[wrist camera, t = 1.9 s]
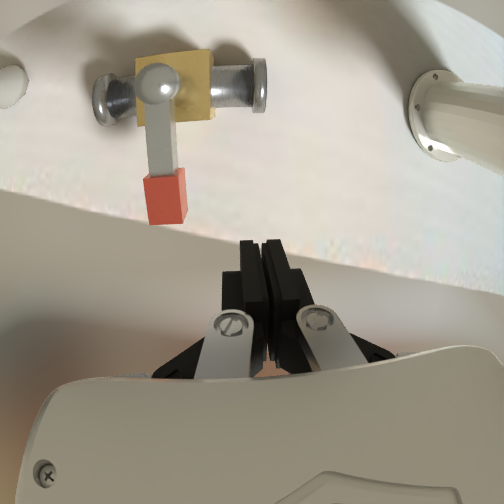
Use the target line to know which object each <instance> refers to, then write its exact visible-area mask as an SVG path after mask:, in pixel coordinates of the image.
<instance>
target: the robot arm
mask: <svg viewBox="0 0 504 504" xmlns="http://www.w3.org/2000/svg"><path fill="white" fill-rule="evenodd" d="M408 110H409V121H410V126H411V129H412V132H413V135H414V137H415V139H416V141H417V143H418V144H419V146H420V147H421V148H422V150H423V151H424V152H425V153H427V154H428V155H429V156H431V157H432V158H434V159H437V160H439V161H442V162H453V161H456V160H459V159H460V158H464V159H467V160H469V161H471V162H473V163H476V164H478V165H480V166H482V167H485V168H487V169H489V170H491V171H493V172H495V173H497V174H499V175H501V176H503V177H504V88H503V87H496V86H490V85H482V84H473V83H464V82H463V81H462V80H461V79H460V78H459V77H458V76H457V75H455V74H453V73H451V72H449V71H445V70H431V71H428V72H426V73H424V74H423V75H422V76H420V77H419V78H418V80H417V81H416V82H415V84H414V86H413V88H412V90H411V94H410V98H409V107H408ZM261 256H262V257H261ZM267 344H268V351H269V357H270V361H275V363H276V368H282V369H284V370H286V371H287V372H288V375H280V376H268V377H254V376H255V375H256V374H257V373H258V372H259V371H261V370H262V369H263V361H266V354H267ZM15 504H504V365H503V364H502V363H501V362H500V360H499V359H498V358H497V357H496V356H495V355H494V354H493V353H492V352H491V351H489V350H487V349H485V348H482V347H477V346H470V345H469V346H468V345H459V346H458V345H457V346H449V347H443V348H438V349H434V350H429V351H424V352H419V353H397V355H396V356H394V355H393V354H392V353H390V352H389V351H387V350H385V349H383V348H381V347H379V346H377V345H375V344H372V343H370V342H368V341H366V340H364V339H362V338H360V337H357V336H355V335H353V334H351V333H349V332H348V331H347V329H346V327H345V326H344V325H343V323H342V321H341V320H340V319H339V317H338V315H337V314H336V313H335V312H334V311H333V310H332V309H330V308H328V307H325V306H323V305H315V304H314V301H313V299H312V296H311V293H310V290H309V288H308V285H307V283H306V280H305V278H304V275H303V273H302V271H301V269H290V267H289V264H288V261H287V258H286V255H285V252H284V249H283V246H282V243H281V240H280V239H274V240H267V242H266V243H262V255H260V250H259V245H258V243H254V244H253V240H243V241H240V271H226V272H223V273H222V311H221V312H219V313H217V314H215V315H214V316H213V317H212V318H211V320H210V322H209V324H208V328H207V332H206V336H205V337H204V338H202V339H201V340H199V341H198V342H196V343H195V344H193V345H192V346H191V347H189V348H188V349H186V350H185V351H184V352H182V353H180V354H179V355H178V356H176V357H175V358H173V359H172V360H170V361H169V362H167V363H166V364H164V365H163V366H161V367H160V368H158V369H157V370H156V371H155V372H154V373H153V375H146V374H145V373H138V374H129V375H121V376H112V377H99V378H90V379H83V380H79V381H75V382H71V383H68V384H65V385H63V386H60V387H58V388H57V389H55V390H54V391H53V392H52V393H51V394H50V395H49V396H48V397H47V399H46V400H45V402H44V403H43V405H42V407H41V409H40V411H39V413H38V415H37V417H36V420H35V422H34V425H33V427H32V430H31V433H30V436H29V439H28V442H27V445H26V449H25V452H24V456H23V461H22V465H21V470H20V475H19V480H18V486H17V492H16V498H15Z"/></svg>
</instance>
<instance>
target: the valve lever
mask: <svg viewBox="0 0 504 504" xmlns="http://www.w3.org/2000/svg"><path fill="white" fill-rule="evenodd" d="M182 88H183V79H182V76H181V74H180V73H179V72H178V71H177V70H176V69H174V68H172V67H170V66H168V65H166V64H164V63H152V64H149V65H147V66H145V67H144V68H142V69H141V70H140V71H139V73H138V74H137V76H136V78H135V81H134V91H135V94H136V96H137V97H138V99H139V100H141V101H142V102H144V114H145V130H146V143H147V155H148V165H149V174H148V175H147V176H146V177H145V178H144V179H143V183H144V191H145V198H146V205H147V212H148V218H149V225H163V224H183V222H184V219H185V217H186V214H187V212H188V206H187V195H186V183H185V169H184V168H178V156H177V141H176V122H175V99H176V98H177V97H178V96H179V94H180V93H181V91H182Z"/></svg>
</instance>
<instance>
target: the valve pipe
mask: <svg viewBox="0 0 504 504" xmlns="http://www.w3.org/2000/svg"><path fill="white" fill-rule="evenodd" d="M152 63H164V64H166V65H168V66H170V67H172V68H174V69H176V70H177V71H178V72H179V73H180V74H181V76H182V79H183V88H182V91H181V93H180V94H179V96H178V97H177V98H176V99H175V122H186V121H199V120H211V119H212V118H214V117H215V108H221V107H252V111H253V113H264V112H265V107H266V97H267V68H266V61H265V59H264V58H253V62H252V65H218V66H215V60H214V58H213V56H212V54H211V51H210V49H203V50H191V51H181V52H173V53H165V54H158V55H152V56H146V57H141V58H135V75H132V76H127V77H122V78H117V77H116V76H115V75H114V74H107V75H103V76H100V77H99V78H98V79H97V80H96V82H95V85H94V88H93V94H92V105H93V111H94V114H95V117H96V119H97V121H98V123H99V124H100V125H102V126H104V127H106V126H111V125H115V124H117V123H118V122H119V120H120V118H124V117H130V116H137V125H138V127H140V126H145V114H144V102H142V101H141V100H139V99H138V97H137V96H136V94H135V91H134V81H135V78H136V76H137V74H138V73H139V71H140V70H141V69H142V68H144V67H145V66H147V65H149V64H152Z"/></svg>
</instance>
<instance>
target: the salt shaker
mask: <svg viewBox="0 0 504 504" xmlns="http://www.w3.org/2000/svg"><path fill="white" fill-rule="evenodd" d="M28 83H29V79H28V77H27V75H26V73H25V71H24V70H23V69H22V68H20V67H19V66H17V65H9V66H6V67H3V68H0V109H6V108H8V107H10V106H12V105H14V104H15V103H16V102H17V101H18V100H19V99H20V98H21V97H22V96H23V95H25V94H26V90H27V87H28Z"/></svg>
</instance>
